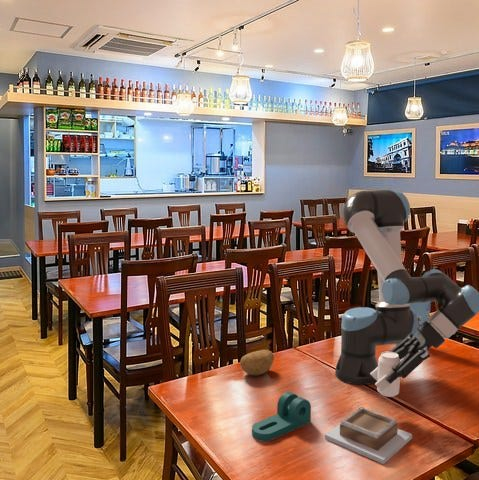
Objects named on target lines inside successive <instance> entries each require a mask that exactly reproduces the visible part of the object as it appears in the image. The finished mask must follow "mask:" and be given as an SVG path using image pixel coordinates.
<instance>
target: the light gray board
mask: <svg viewBox="0 0 479 480" xmlns="http://www.w3.org/2000/svg"><path fill="white" fill-rule="evenodd" d="M340 424H341V423H339V424H338V425H337V426H335V427H334V428H333V429H331V430H329V431H328V432H327V433H325V434H324V439H325V440H327V441H329V442H331V443H333V444H336V445H339V446H341V447H342V448H346V449H348V450H350V451H351V452H352V451H353V452H354V453H356V454H359V455H361V456H364V457H366V458H368V459H371V460H372V461H375V462H378V463H380V464H382V465H385V464H387V463H386V462H388V461H389V460H390V459H391V458H392V457H393V456H395V455H396V454H397V453H398V452H399V451H400V450H401V449H402V448H403V447H405V445H407V444H408V443H409V442H410V441H411V440H412V439H413V433H410V432H408V431H405V430H402V429H399V428H398V431H397V435H395V436H394V437H393V438H392V439H391V440H390V441H388V442H387V443H386V444H385V445H384V446H383V447H381V448H380V449H379V450H378V451H377V450H374V449H372V448H370V447H367V446H365V445H362V444H360V443H358V442H355V441H353V440H350V439H348V438H346V437H343V436H341V435H340Z"/></svg>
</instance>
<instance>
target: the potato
mask: <svg viewBox="0 0 479 480" xmlns="http://www.w3.org/2000/svg"><path fill="white" fill-rule="evenodd" d="M274 360H275V355H274V353H273V352H272V351H271V350H268V349H260V350H256V351H252V352H249V353H247V354H245V355H243V356H242V357H241V359H240V362H239V363H240V368H241V369H242V371H243V372H244V373H245V374H247V375H251V376H261V375H264V374H265V373H267V372H269V370H270V369H271V367H272V365H273V362H274Z"/></svg>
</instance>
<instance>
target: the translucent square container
mask: <svg viewBox="0 0 479 480" xmlns="http://www.w3.org/2000/svg"><path fill="white" fill-rule="evenodd" d="M349 423H352V424H355V425H357V426H360V427H362V428H365V429H367V430H370V431H372V432H375V433H377V432H378V431H379V430H381V429H382V428H383V427H384V426H386V425H387V424H388V423H389V422H387V421H385V420H382V419H379V418H377V417H374V416H371V415H368V414H366V413H363V412H362V413H361V414H359V415H358V416H356V417H355V418H354V419H352V420H351V421H349ZM339 424H340V435H341V436H343V437H346V438H348V439H350V440H353V441H355V442H358V443H360V444H362V445H365V446H367V447H370V448H372V449H374V450H377V451H378V450H379V449H380V448H381V447H383V446H384V445H385V444H386V443H387V442H388V441H390V440H391V439H392V438H393V437H394V436H395V435H397V431H398V429H399V428H398V427H399V425H398V422H397V424H395V425H394V426H393V427H392V428H390V429H389V430H388V431H387V432H386V433H384V434H383V435H382V436H381V437H380V438H378V439H376V438H373V437H371V436H368V435H366V434H363V433H361V432H359V431H356V430H354V429H351V428H349V427H346V426H344V425H341V423H339Z"/></svg>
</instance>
